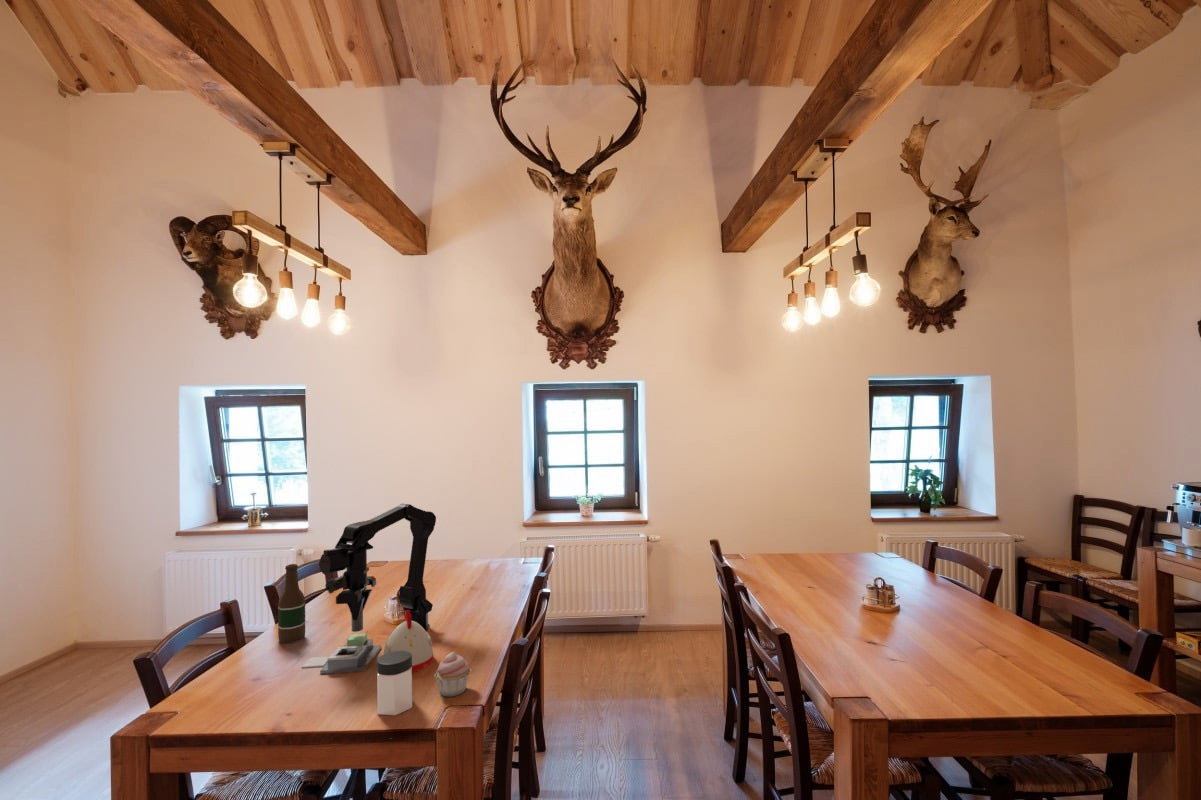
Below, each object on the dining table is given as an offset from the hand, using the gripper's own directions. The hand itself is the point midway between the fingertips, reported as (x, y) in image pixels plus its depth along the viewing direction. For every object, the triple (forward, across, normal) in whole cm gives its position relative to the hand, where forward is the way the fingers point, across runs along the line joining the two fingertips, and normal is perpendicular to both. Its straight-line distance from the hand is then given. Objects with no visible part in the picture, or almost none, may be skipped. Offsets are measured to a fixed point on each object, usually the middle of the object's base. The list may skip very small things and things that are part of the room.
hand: (357, 618), depth 168 cm
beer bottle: (+11, -16, -26) cm, 33 cm away
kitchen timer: (+11, +9, +17) cm, 22 cm away
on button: (+8, 0, 0) cm, 8 cm away
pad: (+11, +5, -10) cm, 15 cm away
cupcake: (+11, +29, +33) cm, 45 cm away
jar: (+11, +35, +20) cm, 41 cm away
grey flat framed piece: (+11, +5, 0) cm, 12 cm away
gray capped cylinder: (+4, 0, 0) cm, 4 cm away
